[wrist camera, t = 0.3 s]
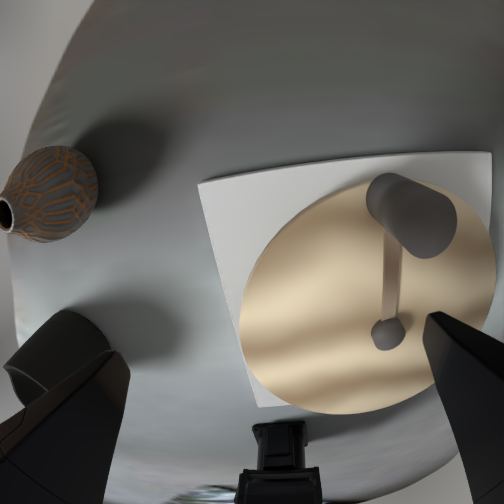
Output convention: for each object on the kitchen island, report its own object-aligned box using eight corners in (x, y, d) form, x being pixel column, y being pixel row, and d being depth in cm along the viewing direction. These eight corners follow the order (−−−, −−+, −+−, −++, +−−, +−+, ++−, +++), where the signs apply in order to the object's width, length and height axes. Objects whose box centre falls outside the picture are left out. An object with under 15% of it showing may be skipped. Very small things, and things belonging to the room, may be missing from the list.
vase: (115, 145, 19) (37, 161, 11) (109, 229, 22) (44, 279, 14) (52, 139, 19) (-25, 156, 11) (49, 215, 22) (-17, 253, 14)
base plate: (453, 360, 26) (457, 366, 25) (258, 399, 29) (258, 407, 28) (482, 151, 17) (491, 153, 16) (201, 181, 20) (197, 184, 19)
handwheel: (453, 365, 24) (481, 417, 17) (265, 403, 27) (263, 469, 20) (486, 159, 16) (557, 183, 9) (212, 189, 19) (175, 229, 11)
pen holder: (39, 321, 27) (-6, 374, 18) (74, 292, 25) (16, 355, 16) (89, 376, 30) (56, 434, 21) (132, 359, 28) (96, 432, 19)
